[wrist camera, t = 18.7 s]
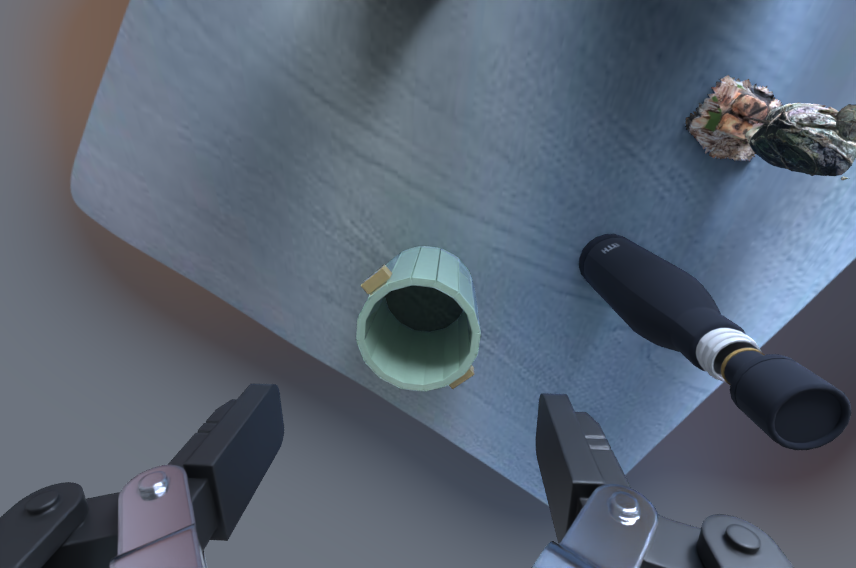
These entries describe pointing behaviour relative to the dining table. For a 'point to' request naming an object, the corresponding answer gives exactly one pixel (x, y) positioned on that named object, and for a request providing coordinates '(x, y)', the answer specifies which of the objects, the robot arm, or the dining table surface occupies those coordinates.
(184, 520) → the robot arm
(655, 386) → the dining table surface
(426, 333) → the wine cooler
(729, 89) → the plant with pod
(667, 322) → the wine bottle
